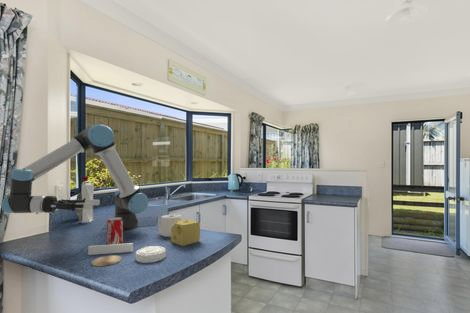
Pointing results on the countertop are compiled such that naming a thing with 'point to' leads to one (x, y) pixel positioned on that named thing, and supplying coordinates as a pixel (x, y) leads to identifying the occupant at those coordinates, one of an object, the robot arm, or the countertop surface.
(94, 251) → the divider
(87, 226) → the countertop surface
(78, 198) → the liquor
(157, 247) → the mooncake
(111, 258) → the coaster
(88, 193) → the white bottle
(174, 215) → the toilet tissue
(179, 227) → the cheese
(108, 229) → the soda can
